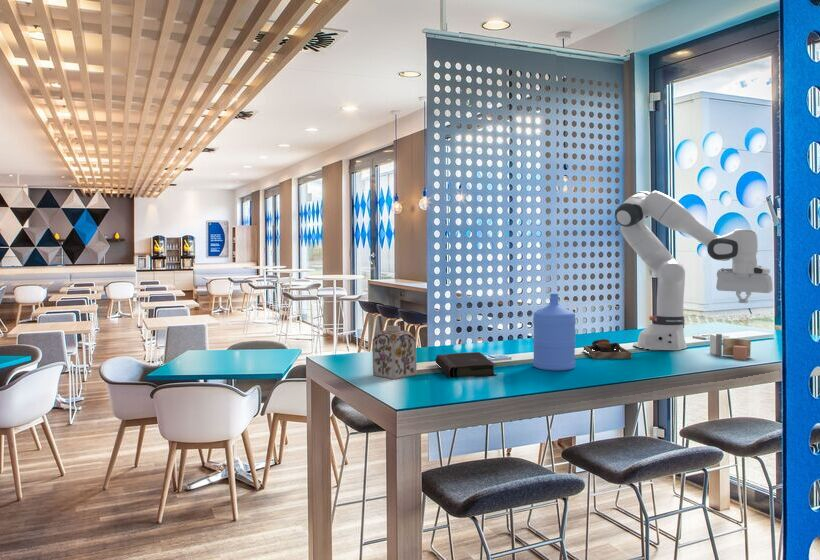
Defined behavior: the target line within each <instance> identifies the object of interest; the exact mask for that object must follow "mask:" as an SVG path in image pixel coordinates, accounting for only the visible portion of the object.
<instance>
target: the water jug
mask: <svg viewBox="0 0 820 560" xmlns="http://www.w3.org/2000/svg"><path fill="white" fill-rule="evenodd" d="M549 296H550V298H549V305H546V306H544V307H542V308H539V309H538V310H536V311H534V312H533V319H532V324H533V339H532V345H533V359H532V365H533V367H535V368H536V369H539V370H542V371H543V370H544V371H554V372H555V371H556V372H558V371H559V372H562V371H569V370H573V369H574V368H575V367H576V360H575V359H576V358H575V357H576V356H575V353H576V350H575V348H576V327H575V326H576V313H575V312H574V311H572V310H570V309H568V308H566V307H564V306H561V305H560V304H559V293H550V294H549Z"/></svg>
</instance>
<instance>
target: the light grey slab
mask: <svg viewBox="0 0 820 560" xmlns="http://www.w3.org/2000/svg"><path fill="white" fill-rule="evenodd" d="M709 353H710V354H712V355H714V356H716V357H722V356H723V334H721V333H715V334H714V333H710V334H709Z"/></svg>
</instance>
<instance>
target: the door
mask: <svg viewBox="0 0 820 560" xmlns="http://www.w3.org/2000/svg"><path fill="white" fill-rule="evenodd" d="M751 342H752V339H749V338H731V337H730V338H729V337H722V356H728V357H729V356H730V357H731V356H732V357H733V346H735V345H741V346H748V358H751V349H752V348H751V345H752V344H751Z"/></svg>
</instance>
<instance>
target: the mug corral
mask: <svg viewBox="0 0 820 560" xmlns="http://www.w3.org/2000/svg"><path fill="white" fill-rule="evenodd" d="M591 347H592V345H583V351H584V350H586V351H587V352H589V354H590V356H589V357H591V358H593V360H597V359H598V360H601V359H602V360H604V359H607V360H608V359H611V360H612V359H613V360H614V359H615V360H617V359H619V360H620V359H627V360H628V359H632V357H633V356H632V351H630V350H628V349H626V348H625V347H622V346H620V347H621V348H620V351H621V352H594V351H592V350H591ZM610 347H611V346H610ZM616 348H617V346H615V348H614V349H616Z"/></svg>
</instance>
